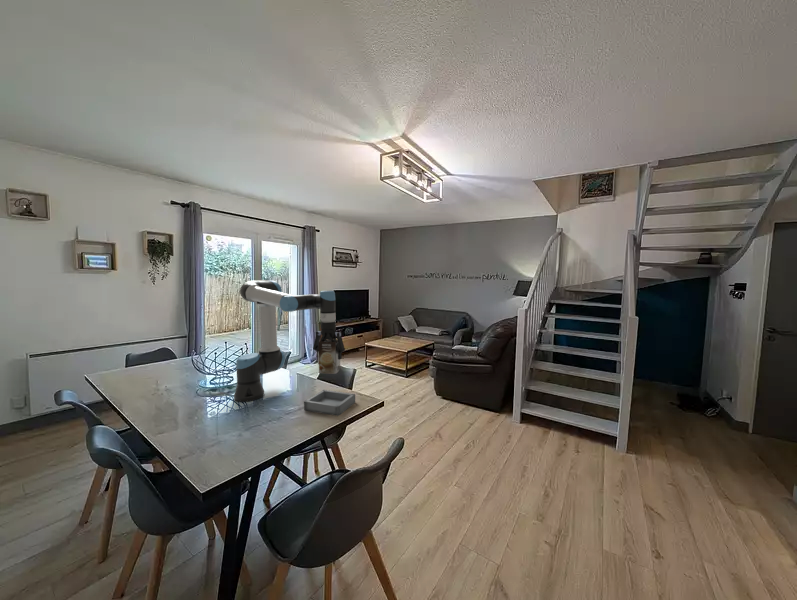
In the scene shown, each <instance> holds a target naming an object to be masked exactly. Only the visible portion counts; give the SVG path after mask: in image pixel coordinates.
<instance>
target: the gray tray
mask: <svg viewBox="0 0 797 600" xmlns="http://www.w3.org/2000/svg"><path fill="white" fill-rule="evenodd" d="M355 403H356V393H349V392H342V391H337V390H336V391H335V390H330V389H329V390H328V389H321V390H320V391H319V392H317V393H316V394H314V395H312V396H310V397H309V398H307V399H306V400H304V401H303V411H305V412H306V411H307V412H313V413H318V414H324V415H325V414H326V415H329V416H335V417H339V416H340V415H341V414H343V413H344V412H346V411H347V410H348V409H349V408H350V407H352V406H353V405H354V404H355Z"/></svg>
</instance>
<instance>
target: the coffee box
mask: <svg viewBox="0 0 797 600" xmlns="http://www.w3.org/2000/svg"><path fill="white" fill-rule="evenodd" d="M336 340H337V339H336ZM337 342H338V340H337V341H336V342H331V340H328V339H327V340H324V341H321V340H320V341H319V364H318V373H319V374H330V375H331V374H333V375H336V374H337V373H338V372H339V371H340V365H339V366H336V353H337V351H336V344H337Z"/></svg>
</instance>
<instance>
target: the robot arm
mask: <svg viewBox="0 0 797 600" xmlns="http://www.w3.org/2000/svg"><path fill="white" fill-rule="evenodd" d="M239 293H240V297H241V298H242V299H243V300H244V301H247V302H251V303H256V305H257V306H258V307H259V322H260V343H261V347H260V348H259V349H258V352H251V353H245V354H242V355H241V356H239V357H238V358H237V359H236V362H235V364H236V365H235V370H236V388H235V391H234V395H233V400H235V402H240V403H243V402H252V401H255V400H259V399H261V398H263V397H264V395H265V390H264V387H263V384H262V381H261V376H262V375H266V374H268V373H272V372H275V371H278V370H280V369H282V367H284V365H285V361H286V357H285V354H284V352H283V351H282V350H281V347H279V346H278V332H277V314H276V313H277V312H276V310H277V309H276V308H279V309H281V310H282V311H283V312H290V313H292V312H296V311H297V312H298V311H305V310H319V311H320V330H318V331H315V339H314V343H313V347H312V350H313V351H316V358H317V365H319V342H320V341H324V340H331V342H336V341H337V340H338V342H337V344H336V351H337V353H336V366H339V367H340V366H341V359H342V358H343V357H342V353H344V352H346V349H345V345H344V341H343V338H342V332H341V331H339V332H338V331H337V330H336V329H337V322H336V320H337V319H336V315H337V314H336V300H337V299H336V292H335V291H334V290H320V291H319V294H314V293H308V294H307V293H306V294H300V295H299V294H295V295H294V294H290V293H286V292H283V290H282V287H281V285H280V284H279V282H277V281H275V280H269V279H268V280H264V279H263V280H248V281H246V282H244V283H243V284H242V285H241V287H240V290H239Z"/></svg>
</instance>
